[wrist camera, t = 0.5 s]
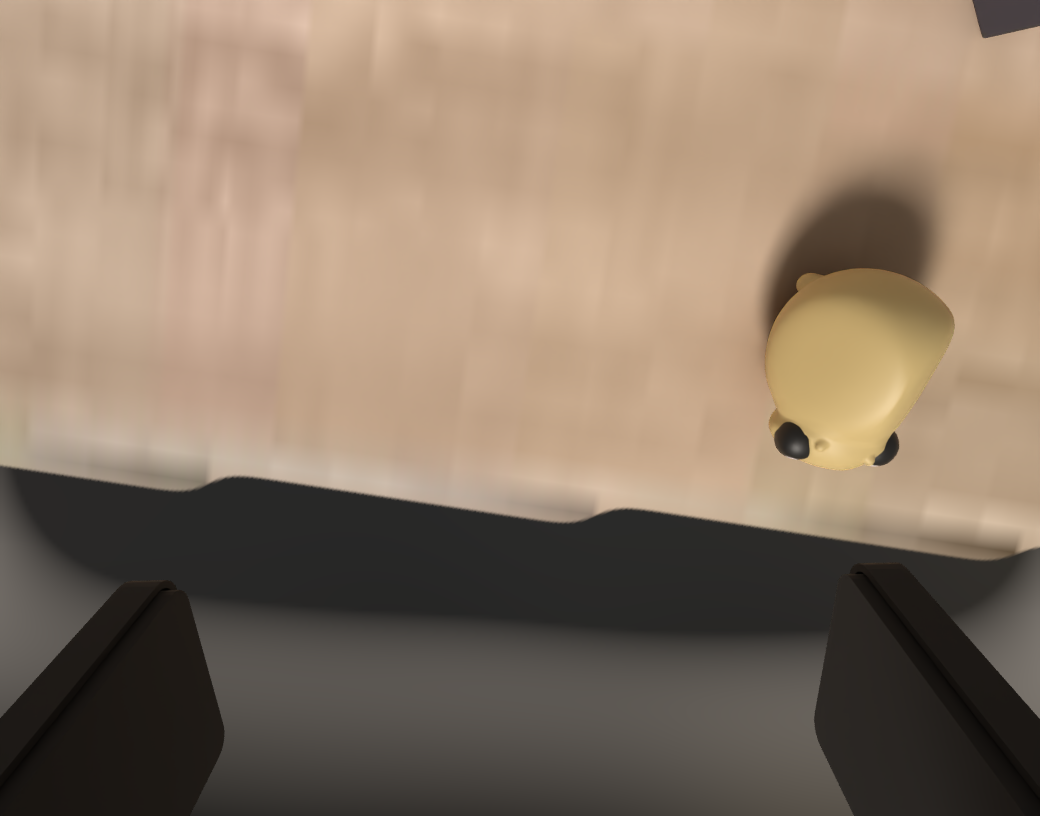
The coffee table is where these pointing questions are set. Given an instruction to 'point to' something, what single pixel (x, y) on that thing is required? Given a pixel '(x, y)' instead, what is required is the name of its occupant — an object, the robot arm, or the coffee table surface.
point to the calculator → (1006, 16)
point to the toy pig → (852, 364)
